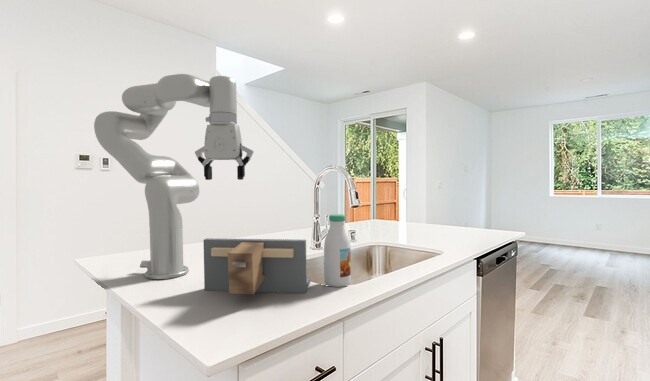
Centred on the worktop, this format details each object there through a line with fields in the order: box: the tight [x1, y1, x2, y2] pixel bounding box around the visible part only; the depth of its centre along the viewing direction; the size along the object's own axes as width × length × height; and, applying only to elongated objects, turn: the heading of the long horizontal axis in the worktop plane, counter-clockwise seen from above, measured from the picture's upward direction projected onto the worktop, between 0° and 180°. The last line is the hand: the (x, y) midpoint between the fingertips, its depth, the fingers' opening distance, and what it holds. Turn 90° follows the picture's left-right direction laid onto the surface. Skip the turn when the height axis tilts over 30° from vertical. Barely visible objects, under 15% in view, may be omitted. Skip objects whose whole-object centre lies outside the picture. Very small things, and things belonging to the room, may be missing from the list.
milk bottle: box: [323, 213, 352, 288], centre depth 97 cm, size 8×8×20 cm
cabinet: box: [228, 242, 265, 295], centre depth 85 cm, size 6×11×10 cm, turn 174°
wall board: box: [203, 237, 312, 294], centre depth 95 cm, size 28×12×14 cm, turn 84°
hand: (224, 179), depth 99 cm, fingers open, 9 cm apart
